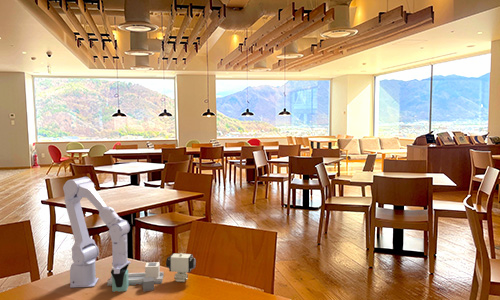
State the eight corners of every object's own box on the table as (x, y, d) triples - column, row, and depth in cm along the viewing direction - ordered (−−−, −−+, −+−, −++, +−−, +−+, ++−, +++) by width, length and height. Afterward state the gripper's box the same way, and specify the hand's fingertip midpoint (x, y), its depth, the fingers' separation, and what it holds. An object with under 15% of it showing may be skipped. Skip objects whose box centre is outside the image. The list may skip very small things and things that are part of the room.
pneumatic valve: (193, 283, 166) (193, 255, 165) (166, 282, 168) (165, 254, 167) (196, 278, 172) (196, 251, 171) (170, 276, 173) (169, 249, 172)
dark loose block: (143, 291, 159) (143, 282, 158) (142, 287, 162) (142, 278, 162) (154, 290, 160) (154, 280, 160) (152, 286, 164) (152, 276, 163)
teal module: (112, 291, 158) (112, 274, 158) (114, 286, 163) (114, 269, 162) (126, 291, 159) (126, 273, 158) (128, 286, 163) (128, 269, 163)
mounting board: (107, 285, 163) (106, 269, 163) (112, 276, 173) (111, 261, 173) (161, 283, 166) (161, 267, 166) (163, 274, 176) (163, 259, 176)
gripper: (127, 257, 153) (127, 291, 154) (133, 245, 167) (133, 276, 168) (107, 258, 152) (108, 292, 153) (115, 245, 166) (116, 277, 167)
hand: (120, 284), depth 161 cm, fingers closed on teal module, 4 cm apart
